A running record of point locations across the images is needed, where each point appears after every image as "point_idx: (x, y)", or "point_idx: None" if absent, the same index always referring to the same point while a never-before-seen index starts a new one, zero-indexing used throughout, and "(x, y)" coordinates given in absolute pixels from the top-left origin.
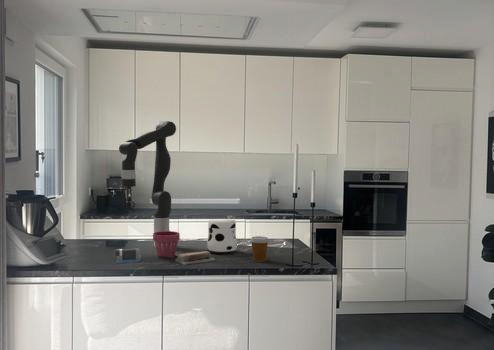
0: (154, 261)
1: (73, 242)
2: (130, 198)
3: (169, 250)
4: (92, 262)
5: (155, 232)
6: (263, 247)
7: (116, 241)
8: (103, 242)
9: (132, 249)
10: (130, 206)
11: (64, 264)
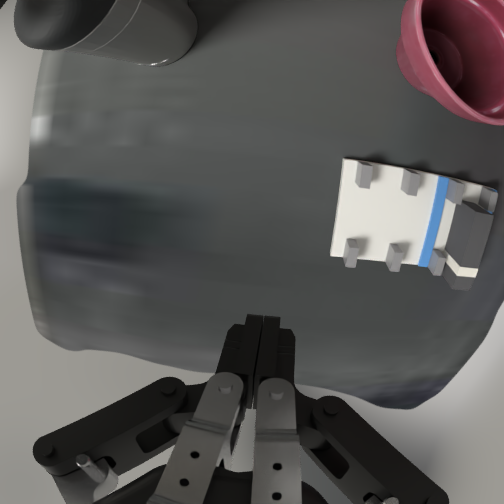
0: (491, 136)
1: (76, 337)
2: (379, 449)
3: (483, 62)
4: (411, 329)
5: (452, 90)
6: None
7: (51, 219)
8: (67, 263)
9: (481, 227)
10: (278, 341)
11: (392, 383)
